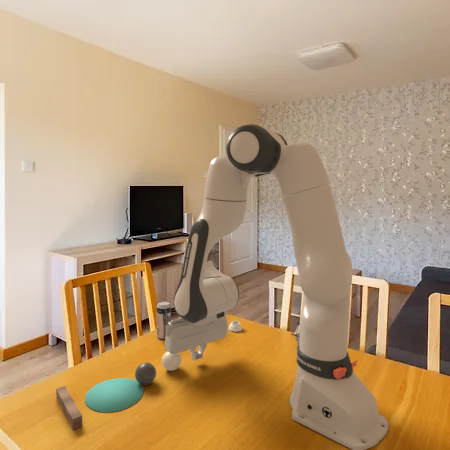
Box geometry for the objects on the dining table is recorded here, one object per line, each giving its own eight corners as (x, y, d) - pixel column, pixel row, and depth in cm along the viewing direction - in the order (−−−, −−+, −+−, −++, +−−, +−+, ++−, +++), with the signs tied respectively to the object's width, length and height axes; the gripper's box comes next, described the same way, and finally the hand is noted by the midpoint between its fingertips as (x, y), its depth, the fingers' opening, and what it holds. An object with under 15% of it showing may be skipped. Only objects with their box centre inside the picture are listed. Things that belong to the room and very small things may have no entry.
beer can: (167, 340, 119) (167, 306, 117) (154, 339, 120) (154, 305, 118) (172, 334, 123) (172, 301, 122) (160, 333, 124) (159, 300, 123)
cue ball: (163, 354, 97) (167, 375, 96) (182, 348, 100) (185, 368, 99) (157, 352, 101) (161, 371, 101) (175, 347, 104) (178, 365, 104)
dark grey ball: (162, 367, 93) (144, 368, 89) (156, 387, 93) (138, 389, 89) (152, 358, 97) (134, 359, 93) (146, 378, 97) (128, 379, 93)
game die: (307, 360, 115) (313, 345, 108) (285, 344, 119) (289, 329, 112) (320, 340, 120) (326, 324, 113) (298, 326, 124) (303, 310, 117)
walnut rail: (82, 426, 77) (82, 415, 76) (72, 429, 76) (72, 419, 75) (65, 395, 88) (64, 385, 87) (56, 398, 86) (56, 388, 86)
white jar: (225, 329, 129) (234, 334, 125) (225, 321, 129) (234, 326, 125) (236, 326, 132) (244, 330, 128) (236, 318, 132) (245, 323, 128)
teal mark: (153, 397, 87) (152, 396, 87) (96, 420, 79) (96, 419, 79) (129, 373, 98) (129, 372, 98) (77, 390, 89) (77, 390, 89)
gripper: (172, 325, 93) (171, 374, 95) (231, 309, 106) (230, 352, 108) (160, 318, 98) (160, 364, 100) (218, 303, 111) (217, 345, 113)
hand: (197, 358), depth 104 cm, fingers closed
